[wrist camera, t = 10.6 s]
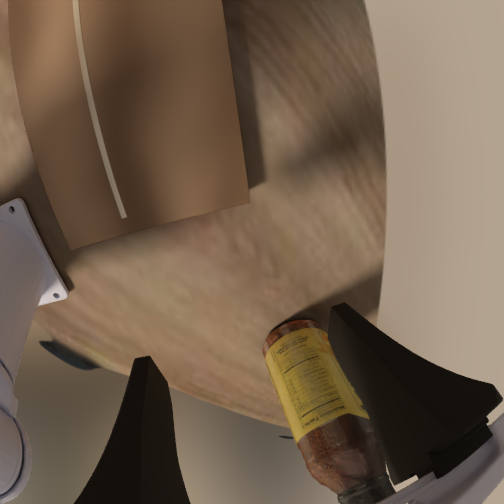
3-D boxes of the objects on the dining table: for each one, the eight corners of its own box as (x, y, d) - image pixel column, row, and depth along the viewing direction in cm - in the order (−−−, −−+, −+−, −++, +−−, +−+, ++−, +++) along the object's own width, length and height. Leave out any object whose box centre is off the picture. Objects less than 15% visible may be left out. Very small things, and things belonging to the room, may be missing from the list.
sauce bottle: (317, 348, 29) (401, 513, 13) (260, 364, 28) (330, 547, 12) (325, 304, 25) (440, 502, 9) (257, 321, 24) (352, 551, 8)
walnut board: (76, 237, 16) (70, 250, 15) (23, -61, 3) (14, -68, 2) (244, 193, 18) (250, 203, 16) (199, -114, 5) (202, -126, 4)
